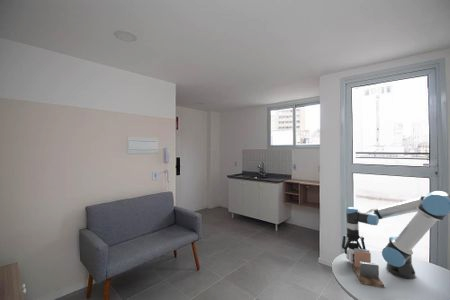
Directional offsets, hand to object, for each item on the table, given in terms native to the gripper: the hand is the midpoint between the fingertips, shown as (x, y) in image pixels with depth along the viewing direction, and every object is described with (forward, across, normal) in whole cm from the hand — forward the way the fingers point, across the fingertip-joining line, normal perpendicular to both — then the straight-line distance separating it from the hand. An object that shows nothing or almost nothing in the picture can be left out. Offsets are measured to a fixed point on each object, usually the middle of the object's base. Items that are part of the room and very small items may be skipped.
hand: (353, 258), depth 150 cm
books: (+2, -3, +6) cm, 7 cm away
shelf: (+4, -3, +15) cm, 15 cm away
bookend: (+2, -3, +19) cm, 19 cm away
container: (+2, 0, 0) cm, 2 cm away
